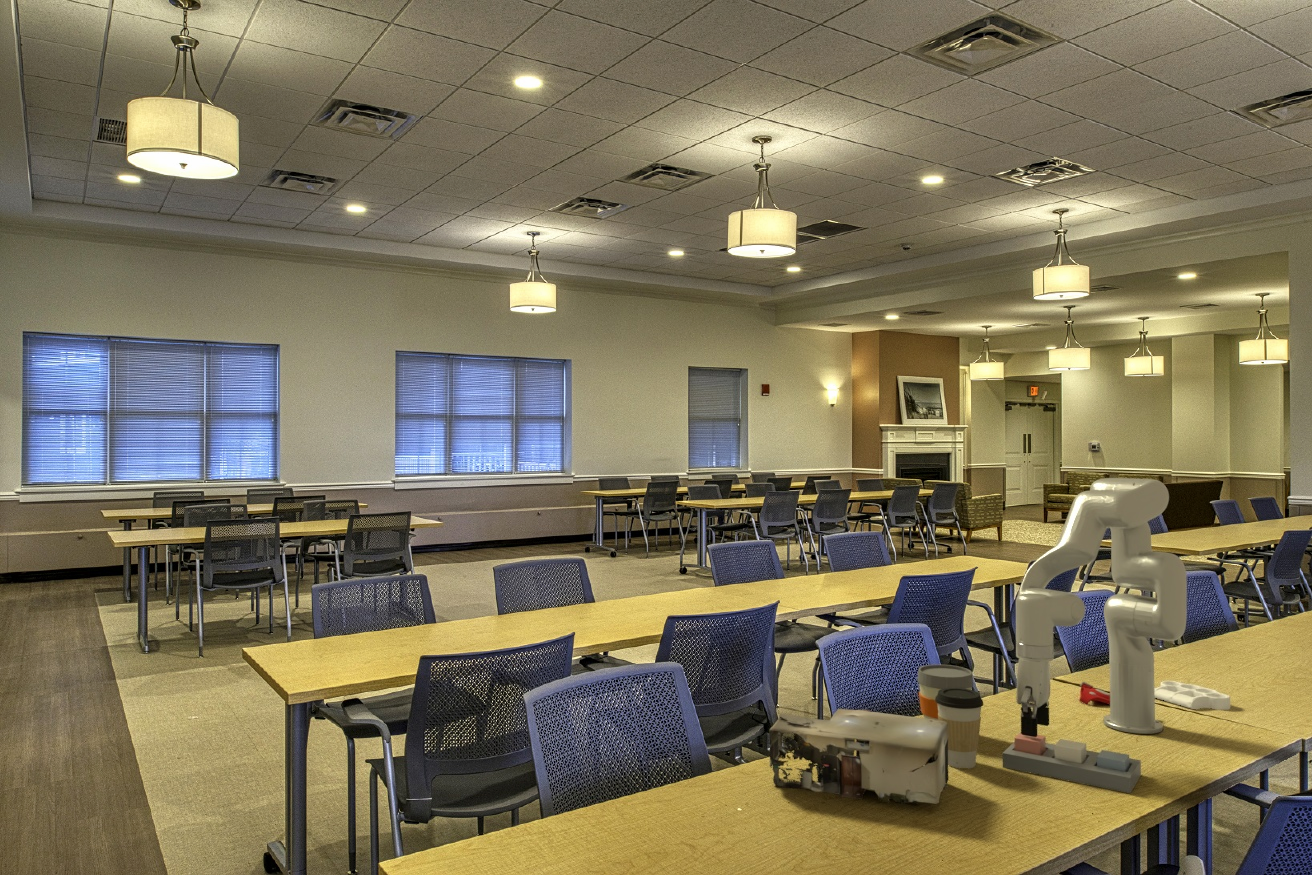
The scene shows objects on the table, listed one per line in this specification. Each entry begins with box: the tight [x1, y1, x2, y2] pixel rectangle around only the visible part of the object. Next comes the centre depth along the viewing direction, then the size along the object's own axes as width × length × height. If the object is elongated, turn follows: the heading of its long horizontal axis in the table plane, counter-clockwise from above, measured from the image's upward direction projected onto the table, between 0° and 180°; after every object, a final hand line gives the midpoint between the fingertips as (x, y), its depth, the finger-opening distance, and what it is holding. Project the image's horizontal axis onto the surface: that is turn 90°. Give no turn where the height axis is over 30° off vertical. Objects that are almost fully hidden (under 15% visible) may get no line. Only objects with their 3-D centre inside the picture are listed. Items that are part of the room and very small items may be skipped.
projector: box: [768, 708, 949, 806], centre depth 176 cm, size 18×33×13 cm, turn 65°
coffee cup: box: [935, 688, 984, 769], centre depth 188 cm, size 10×10×15 cm
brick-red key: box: [1014, 731, 1047, 756], centre depth 188 cm, size 5×5×4 cm
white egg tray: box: [1155, 680, 1231, 711], centre depth 232 cm, size 3×18×15 cm
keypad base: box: [1002, 741, 1142, 794], centre depth 183 cm, size 12×24×3 cm, turn 52°
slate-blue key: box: [1097, 749, 1130, 772], centre depth 178 cm, size 5×5×4 cm
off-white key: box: [1055, 738, 1087, 764], centre depth 183 cm, size 5×5×4 cm
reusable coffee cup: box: [917, 664, 974, 720], centre depth 207 cm, size 13×13×15 cm
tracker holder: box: [1078, 681, 1110, 705], centre depth 234 cm, size 12×4×10 cm
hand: (1035, 729), depth 192 cm, fingers open, 9 cm apart
